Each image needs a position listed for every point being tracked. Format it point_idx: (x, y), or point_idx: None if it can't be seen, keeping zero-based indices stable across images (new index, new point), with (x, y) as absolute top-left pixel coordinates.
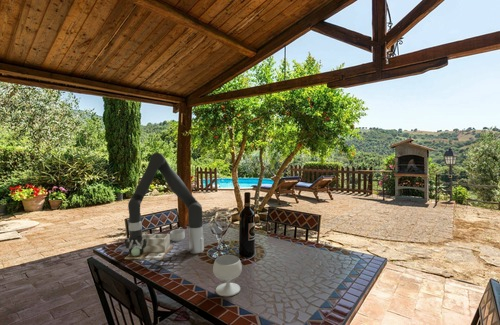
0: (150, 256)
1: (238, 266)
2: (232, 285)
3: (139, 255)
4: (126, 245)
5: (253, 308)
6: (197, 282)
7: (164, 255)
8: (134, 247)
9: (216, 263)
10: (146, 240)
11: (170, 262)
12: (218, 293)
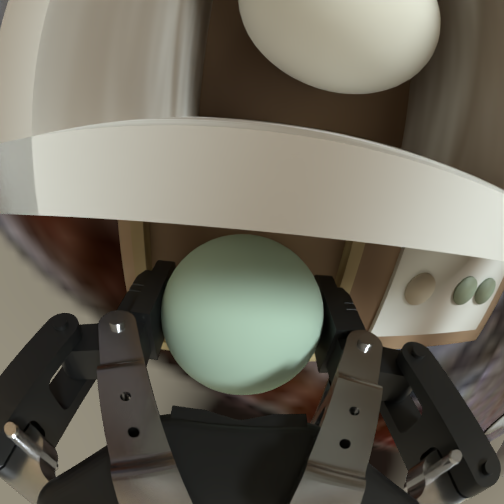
0: (414, 314)
1: None
2: None
3: None
4: (66, 398)
5: (494, 434)
6: (483, 419)
7: (501, 284)
8: (214, 386)
9: (502, 476)
10: (474, 447)
11: (491, 337)
12: (485, 434)
